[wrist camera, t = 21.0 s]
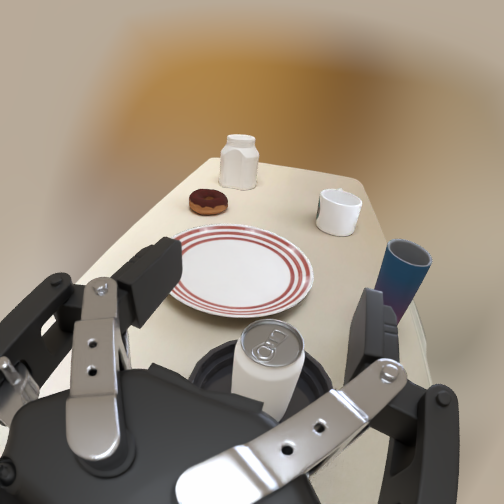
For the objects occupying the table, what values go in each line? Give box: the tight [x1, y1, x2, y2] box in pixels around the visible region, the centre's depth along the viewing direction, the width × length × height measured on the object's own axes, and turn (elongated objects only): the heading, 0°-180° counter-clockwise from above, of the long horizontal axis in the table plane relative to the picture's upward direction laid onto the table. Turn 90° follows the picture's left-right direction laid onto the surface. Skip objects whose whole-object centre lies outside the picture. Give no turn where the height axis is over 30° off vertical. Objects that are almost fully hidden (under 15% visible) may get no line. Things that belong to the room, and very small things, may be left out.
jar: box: [219, 134, 259, 190], centre depth 90 cm, size 12×10×15 cm
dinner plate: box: [169, 224, 313, 318], centre depth 54 cm, size 27×27×3 cm
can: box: [231, 319, 305, 422], centre depth 29 cm, size 6×6×12 cm
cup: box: [374, 239, 432, 325], centre depth 41 cm, size 7×7×15 cm
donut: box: [189, 189, 228, 215], centre depth 76 cm, size 10×10×4 cm
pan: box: [188, 339, 333, 424], centre depth 32 cm, size 16×16×4 cm
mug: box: [316, 188, 362, 236], centre depth 74 cm, size 13×10×8 cm
